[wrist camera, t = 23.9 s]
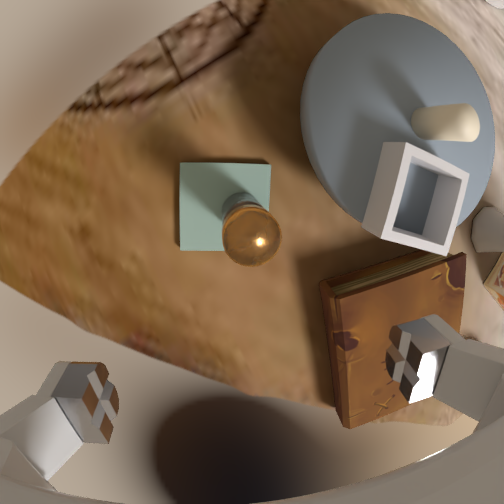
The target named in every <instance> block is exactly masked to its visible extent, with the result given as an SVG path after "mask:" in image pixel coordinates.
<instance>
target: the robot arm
mask: <svg viewBox="0 0 504 504" xmlns="http://www.w3.org/2000/svg"><path fill="white" fill-rule="evenodd" d="M485 1H487V2H488V3H489V4H491V5H492V6H494V7H496V8H500V9H503V8H504V0H485ZM389 339H390V341H391V342H392V344H391V345H390V346H389V348H388V349H387V350H386V357H385V362H386V369H387V371H388V374H389V375H390V377H391V378H392V380H394V381H397V382H399V383H400V386H399V390H400V392H401V393H402V395H403V396H404V397H405V399H406V400H407V402H408V403H412V402H415V401H418V400H421V399H424V398H427V397H430V396H432V395H433V397H434V398H436V399H438V400H439V401H441V402H443V403H445V404H447V405H449V406H451V407H452V408H454V409H456V410H458V411H460V412H462V413H464V414H465V415H467V416H469V417H471V418H473V419H475V420H477V421H479V423H478V425H477V426H476V428H475V430H474V431H473V434H471V435H470V436H468V437H466V438H464V439H462V440H460V441H459V442H457V443H455V444H453V445H451V446H449V447H447V448H445V449H443V450H441V451H438V452H436V453H434V454H432V455H430V456H428V457H426V458H423V459H421V460H418V461H416V462H414V463H411V464H409V465H406V466H404V467H401V468H399V469H396V470H394V471H391V472H388V473H385V474H382V475H380V476H376V477H373V478H370V479H367V480H364V481H361V482H358V483H354V484H351V485H347V486H343V487H340V488H336V489H332V490H328V491H324V492H319V493H315V494H311V495H305V496H301V497H295V498H289V499H283V500H277V501H270V502H263V503H255V504H504V349H503V348H500V347H496V346H493V345H489V344H486V343H482V342H479V341H476V340H472V339H467V340H465V339H464V338H463V337H462V336H461V335H460V334H459V333H457V332H456V331H455V330H454V329H453V328H452V327H451V326H450V325H448V324H447V323H446V322H445V321H444V320H443V319H442V318H440V317H439V316H438V315H435V314H432V315H429V316H425V317H422V318H420V319H417V320H413V321H410V322H406V323H402V324H398V325H394V326H392V327H391V329H390V332H389ZM108 375H109V373H108V370H107V368H106V366H105V365H104V364H103V363H101V362H64V361H60V362H57V363H55V365H54V366H53V368H52V369H51V371H50V373H49V374H48V376H47V378H46V379H45V381H44V383H43V384H42V386H41V388H40V389H39V391H38V393H37V394H36V395H31V396H30V397H28V398H27V399H25V400H24V401H22V402H20V403H19V404H17V405H16V406H14V407H13V408H11V409H9V410H8V411H6V412H5V413H4V414H2V415H0V504H123V503H114V502H108V501H101V500H95V499H90V498H84V497H79V496H74V495H70V494H65V493H61V492H58V491H57V490H56V489H55V488H54V487H53V486H52V485H51V484H50V483H49V482H48V480H49V479H50V478H51V477H52V476H53V475H54V473H55V472H56V471H57V470H58V469H59V468H60V467H61V466H62V465H63V464H64V463H65V462H66V461H67V460H68V459H69V458H70V457H71V456H72V455H73V454H74V453H75V452H76V451H77V450H78V449H79V448H80V447H81V446H82V445H83V442H87V443H100V444H109V441H110V438H111V434H112V431H113V425H112V423H111V420H112V419H114V418H115V417H116V416H117V413H118V409H119V398H118V394H117V391H116V388H115V386H114V385H113V384H112V383H110V382H109V381H108V380H107V378H108Z"/></svg>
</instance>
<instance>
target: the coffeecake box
mask: <svg viewBox="0 0 504 504" xmlns="http://www.w3.org/2000/svg"><path fill="white" fill-rule="evenodd" d="M483 285H484V286H485V288H486V289H487V290H488V291H489V293H490V294H491V295H492V296H493V298H494V299H495V300H496V301H497V303H498V304H499V305H500V306H501V308H502V309H503V310H504V252H502V254H501V256H500V257H499V259H498V261H497V263H496V265H495V266H494V268H493V269H492V271H491V273H490V274H489V276H488V277H487V279H486V281H485V282H484V284H483Z"/></svg>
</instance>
